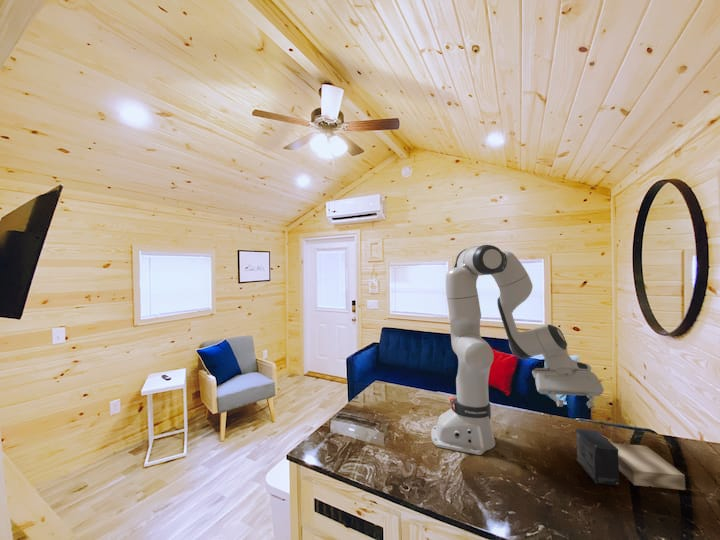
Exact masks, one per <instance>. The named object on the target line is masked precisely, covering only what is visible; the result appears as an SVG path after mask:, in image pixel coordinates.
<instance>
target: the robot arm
mask: <svg viewBox="0 0 720 540" xmlns="http://www.w3.org/2000/svg"><path fill="white" fill-rule="evenodd" d="M485 275H487V276H488V275H490V276H492V277H493V279H494V282H495V283H496V285H497V287H498V288H499V297H497V309H498V311H499V314H500V318H501V321H502V324H503V327H504V329H505V333H506V336H507V340H508V345H509V348H510V351H511V353H512V354H513V355H514V356H515V357H517V358H519V359H521V360H527V359H530V358H533V357H535V356H539V355H542V356H543V358H544V364H545V367H542V368H541V367H540V368H539V367H535V368H534V369H532V371H531V374H532V376H533V378H534V380H535V386H536V390H537V392H538V393H539V394H540V395H549V397H550V398H551V399H552V400H553V402H555V404H556V406H557V407H558V408H563V406H564V402H563V400H562V399H559V398H558V396H557V395H562V396H563V395H564V396H566V395H567V396H586V397H587V399H589V400H588V401H587V402H585V403H586V406H587V407H588V409H594V408H596V405H595V402H594V400H595V397H600V396H601V395H602V394H603V393H604V390H605V389H604V387H603V385H602V383H601V381H600V379H599V377H598V376H597V375H596V374H595V373H594V372H593V371H591V370H592V367H591V366H590V364H587V363H584V362H580V361H577V360H574V359H572V357H571V356H570V355H569V354H568V348H567V347H568V343H567V341H566V338H565V335H564V334H563V331H562V330H561V329H560V328H558V327H557V326H555V325H552V324H543V325H541V326H537V327H533V328H530V329H528V330H523V331H519V330H518V327H517V325H516V323H515V322H516V321H515V318H514V316H513V312H514V311H515V310H516V309H517V308H518V307H519V306H520V305H521V304H522V303H524V302H525V301H526V300H527V299H528V298H529V297H530V295H531V293H532V292H533V291H532V290H533V287H534V286H533V283H532V280H531V277H530V276H529V273H528V272H527V270H526V268H525V267H524V265H523V264H522V263H521V261H520V260H519V259H518V258H517V256H515V254H514V253H513V252H511V251H502V250H501V249H500V248H499V247H497V246H494V245H493V244H482V245H474V246H471V247H469V248H465V249H463V250H461V251H460V252H459V253H458V255H457V256H456V258H455V263H454V266H453V268H451V269H449V270H448V271H447V273H446V275H445V293H446V295H445V296H446V301H447V308H448V313H449V320H450V323H449V325H450V328H449V329H450V339H451V340H450V342H451V344H450V345H451V348H452V351H453V352H454V354H456V356H457V360H458V361H457V362H458V363H457V364H458V367H457V374H456V378H455V387H456V389H455V390H456V398H455V397H454V396H450V397H449V403H450V404H451V406H450V409H448V410H447V411H444V412H443V413H441V414H439V417H438V419H437V424H435V425H434V426H432V428H431V431H430V432H431V433H430V434H431V435H430V438H431V441H432V443H433V444H434V445H435V447H437V448H440V449H447V450H453V451H456V452H457V451H458V452H462V453H463V452H464V453H467V454H473V455H477V456H481V455H483V454H484V453H485V452H487V451H490V450H492V449H493V448H495V446H496V439H495V436H494V433H493V429H492V423H491V416H492V407H491V403H490V400H489V376H490V372H491V371H490V370H491V366H492V364H493V362H494V357H495V356H494V352H493V349H492V348H491V345H490V344H489V343H488V342H487V341H486V340H485V339H483V338H482V336H481V319H482V312H481V306H480V300H479V298H480V297H479V293H478V288H477V282H478V278H479V277H480V276H485Z"/></svg>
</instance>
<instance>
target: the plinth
mask: <svg viewBox="0 0 720 540" xmlns="http://www.w3.org/2000/svg"><path fill="white" fill-rule="evenodd" d="M610 443H611V444H613V445H614V446H615V447H616V448H617V449H618V461H619V472H621V474H622V475H623V476H625V477H626V479H628V480H629V482H631V484H633V486H642V487H649V486H651V488H659V489H661V488H662V489H672V490H679V491H680V490H681V491H686V477H685V476H686V475H685V474H683V473H682V472H681V471H680V470H679V469H677V468H676V467H675V466H674V465H673V464H671V463H670V462H668V461H667V460H666V459H664V458H663V457H662V456H660V455H659V454H658V453H656V452H655V451H653V449H651V448H649V447H648V446H647V445H641V444H625V443H612V442H610Z"/></svg>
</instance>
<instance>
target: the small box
mask: <svg viewBox="0 0 720 540" xmlns="http://www.w3.org/2000/svg"><path fill="white" fill-rule="evenodd" d="M575 435H576V462H577V463H578V464H579V465H580V467H581V468H582V469H583V470H584V471H585V473H586V474H587V475H588V477H590V479H591V480H592V481H593V482H594V483H595V484H599V485H608V486H618V487H620V470H619V461H618V449H617V448H616V447H615V446H614V445H613V444H611V443H612V442H610V440H608V439H607V438H606V437H605V436H604V435H603V434H601V432H599V431H598V430H592V429H580V428H576V429H575Z"/></svg>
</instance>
